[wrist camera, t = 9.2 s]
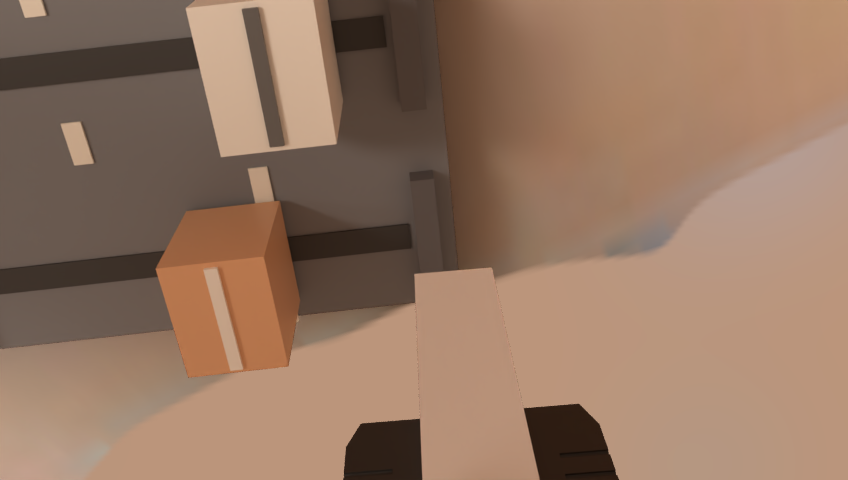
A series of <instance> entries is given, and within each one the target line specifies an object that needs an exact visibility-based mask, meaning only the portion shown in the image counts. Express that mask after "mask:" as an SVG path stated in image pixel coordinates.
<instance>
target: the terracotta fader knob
mask: <svg viewBox="0 0 848 480" xmlns="http://www.w3.org/2000/svg"><path fill="white" fill-rule="evenodd" d="M156 272H157V275H158V279H159V282H160V285H161V288H162V292H163V295H164V298H165V302H166V305H167V308H168V312H169V315H170V318H171V322H172V325H173V328H174V332H175V335H176V338H177V341H178V345H179V348H180V351H181V355H182V358H183V361H184V365H185V368H186V371H187V375H188V378H189V377H198V376H207V375H216V374H225V373H234V372H243V371H251V370H260V369H268V368H278V367H287V366H289V360H290V354H291V349H292V343H293V338H294V332H295V326H296V321H297V315H298V309H299V304H300V297H299V292H298V287H297V282H296V277H295V273H294V268H293V263H292V258H291V253H290V248H289V243H288V239H287V234H286V229H285V224H284V219H283V214H282V209H281V204H280V201H272V202H263V203H254V204H245V205H237V206H228V207H219V208H210V209H201V210H192V211H186V213H185V215H184V216H183V218H182V220H181V222H180V224H179V226H178V228H177V230H176V231H175V233H174V235H173V237H172V239H171V241H170V243H169V245H168V246H167V248H166V250H165V252H164V254H163V256H162V258H161V259H160V261H159V263H158V265H157V267H156Z"/></svg>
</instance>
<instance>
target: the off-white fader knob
mask: <svg viewBox="0 0 848 480" xmlns="http://www.w3.org/2000/svg"><path fill="white" fill-rule="evenodd" d="M186 12H187V17H188V21H189V25H190V29H191V34H192V38H193V42H194V46H195V50H196V55H197V59H198V63H199V67H200V71H201V76H202V80H203V84H204V88H205V92H206V97H207V101H208V105H209V109H210V113H211V118H212V122H213V126H214V130H215V134H216V139H217V143H218V147H219V151H220V155H221V157H227V156H236V155H245V154H253V153H262V152H271V151H280V150H289V149H298V148H307V147H316V146H325V145H334V144H337V139H338V132H339V125H340V119H341V112H342V105H343V97H342V91H341V84H340V78H339V71H338V65H337V58H336V52H335V45H334V39H333V32H332V26H331V19H330V13H329V6H328V0H195V1H194V2H193V3H191V4H190V5H189V6H188V7H186Z"/></svg>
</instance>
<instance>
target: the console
mask: <svg viewBox="0 0 848 480" xmlns="http://www.w3.org/2000/svg"><path fill="white" fill-rule="evenodd" d="M194 1H195V0H0V349H5V348H14V347H23V346H32V345H41V344H50V343H59V342H67V341H76V340H85V339H94V338H103V337H112V336H121V335H130V334H139V333H148V332H157V331H165V330H174V328H173V325H172V322H171V318H170V315H169V312H168V308H167V305H166V302H165V298H164V295H163V292H162V288H161V285H160V282H159V279H158V275H157V272H156V267H157V265H158V263H159V261H160V259H161V258H162V256H163V254H164V252H165V250H166V248H167V246H168V245H169V243H170V241H171V239H172V237H173V235H174V233H175V231H176V230H177V228H178V226H179V224H180V222H181V220H182V218H183V216H184V215H185V213H186V211H192V210H201V209H210V208H219V207H228V206H237V205H245V204H254V203H263V202H272V201H280V204H281V209H282V214H283V219H284V224H285V229H286V234H287V239H288V243H289V248H290V253H291V258H292V263H293V268H294V273H295V277H296V282H297V287H298V292H299V297H300V304H299V309H298V315H297V321H296V322H299V315H308V314H317V313H326V312H335V311H344V310H353V309H362V308H371V307H379V306H388V305H397V304H406V303H415V277H414V274H420V273H432V272H443V271H455V270H458V262H457V251H456V240H455V229H454V218H453V207H452V197H451V186H450V175H449V164H448V153H447V142H446V131H445V120H444V109H443V98H442V87H441V76H440V65H439V54H438V43H437V32H436V21H435V10H434V0H328V6H329V13H330V19H331V26H332V32H333V39H334V45H335V52H336V58H337V65H338V71H339V78H340V84H341V91H342V97H343V105H342V112H341V119H340V125H339V132H338V139H337V144H334V145H325V146H316V147H307V148H298V149H289V150H280V151H271V152H262V153H253V154H245V155H236V156H227V157H221V155H220V151H219V147H218V143H217V139H216V134H215V130H214V126H213V122H212V118H211V113H210V109H209V105H208V101H207V97H206V92H205V88H204V84H203V80H202V76H201V71H200V67H199V63H198V59H197V55H196V50H195V46H194V42H193V38H192V34H191V29H190V25H189V21H188V17H187V12H186V7H188V6H189V5H190V4H191V3H193V2H194Z"/></svg>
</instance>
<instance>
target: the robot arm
mask: <svg viewBox="0 0 848 480" xmlns="http://www.w3.org/2000/svg"><path fill="white" fill-rule="evenodd" d="M414 277H415V302H416V328H417V350H418V351H417V353H418V377H419V403H420V419H413V420H400V421H388V422H376V423H363V424H360V426H359V428H358V429H357V431H356V432H355V434H354V435H353V437H352V439H351V440H350V442H349V443H348V445H347V447H346V455H345V467H344V479H343V480H619V479H618V476H617V475H616V472H615V467H614V465H613V462H612V459H611V456H610V455H609V453H608V447H607V445H606V442H605V439H604V436H603V433H602V431H601V428H600V425H599V423H598V422H597V421H596V420H595V419H594V418H593V417H592V416H591V415H589V414H588V412H587V411H586V410H585V409H584V408H583V407H582V406H580V404H572V405H571V404H570V405H558V406H547V407H534V408H523V404H522V399H521V395H520V390H519V386H518V381H517V377H516V372H515V368H514V364H513V360H512V355H511V350H510V346H509V341H508V337H507V332H506V328H505V323H504V319H503V315H502V310H501V306H500V301H499V297H498V293H497V288H496V284H495V279H494V275H493V270H492V267H491V268H479V269H467V270H455V271H443V272H432V273H420V274H414Z"/></svg>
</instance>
